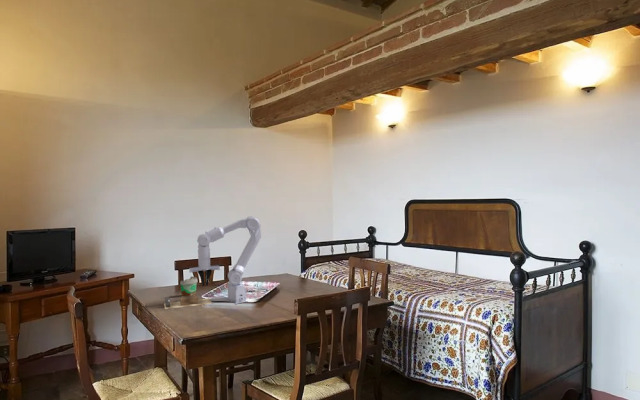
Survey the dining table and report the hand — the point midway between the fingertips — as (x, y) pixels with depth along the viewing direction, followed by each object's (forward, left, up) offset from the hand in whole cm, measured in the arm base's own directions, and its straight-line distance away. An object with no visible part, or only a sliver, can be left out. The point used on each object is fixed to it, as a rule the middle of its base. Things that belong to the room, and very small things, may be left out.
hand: (205, 285), depth 227 cm
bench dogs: (+6, +17, -8) cm, 20 cm away
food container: (+20, -2, -10) cm, 22 cm away
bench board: (+3, +8, -9) cm, 13 cm away
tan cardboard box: (+3, +7, -8) cm, 11 cm away
